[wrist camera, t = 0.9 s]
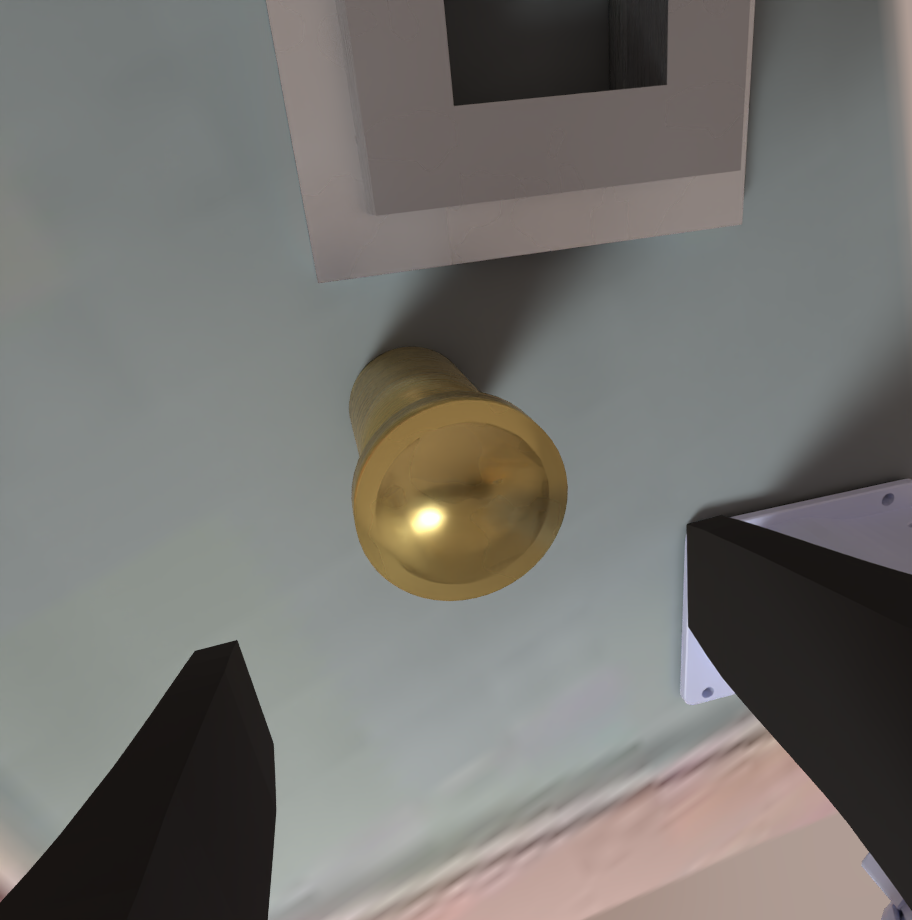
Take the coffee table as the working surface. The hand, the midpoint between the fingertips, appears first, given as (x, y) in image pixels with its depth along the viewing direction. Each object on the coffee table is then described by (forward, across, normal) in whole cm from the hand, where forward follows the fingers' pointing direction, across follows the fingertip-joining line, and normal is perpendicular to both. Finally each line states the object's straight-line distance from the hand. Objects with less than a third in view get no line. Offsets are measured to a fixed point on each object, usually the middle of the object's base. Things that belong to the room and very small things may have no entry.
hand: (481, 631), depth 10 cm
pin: (+10, -1, 0) cm, 10 cm away
